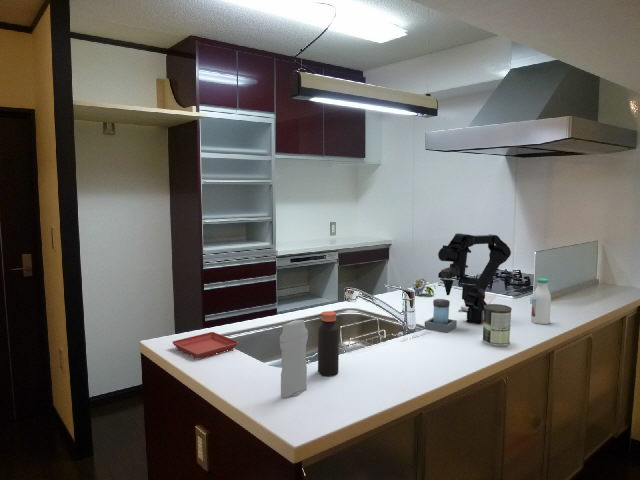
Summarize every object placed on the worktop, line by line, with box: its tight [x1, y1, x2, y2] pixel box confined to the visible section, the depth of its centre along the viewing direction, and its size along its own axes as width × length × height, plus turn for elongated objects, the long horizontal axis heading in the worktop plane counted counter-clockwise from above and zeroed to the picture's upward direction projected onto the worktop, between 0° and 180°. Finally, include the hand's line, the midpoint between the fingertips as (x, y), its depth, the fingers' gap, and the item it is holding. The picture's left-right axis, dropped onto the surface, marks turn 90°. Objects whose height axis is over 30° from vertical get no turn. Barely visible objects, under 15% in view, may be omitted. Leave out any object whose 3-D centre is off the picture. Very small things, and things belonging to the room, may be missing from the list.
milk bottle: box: [530, 277, 552, 325], centre depth 219 cm, size 8×8×20 cm
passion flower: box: [410, 277, 437, 297], centre depth 274 cm, size 11×11×12 cm
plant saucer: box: [172, 331, 239, 360], centre depth 180 cm, size 18×18×3 cm
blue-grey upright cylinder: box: [432, 298, 451, 325], centre depth 209 cm, size 7×7×12 cm
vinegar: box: [317, 310, 340, 377], centre depth 157 cm, size 7×7×20 cm
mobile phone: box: [458, 293, 497, 312], centre depth 243 cm, size 6×6×25 cm
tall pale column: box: [279, 319, 309, 399], centre depth 141 cm, size 11×4×22 cm, turn 135°
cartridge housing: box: [423, 316, 458, 333], centre depth 210 cm, size 10×10×3 cm
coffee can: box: [482, 303, 513, 347], centre depth 190 cm, size 10×10×14 cm
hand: (455, 297), depth 212 cm, fingers open, 9 cm apart
